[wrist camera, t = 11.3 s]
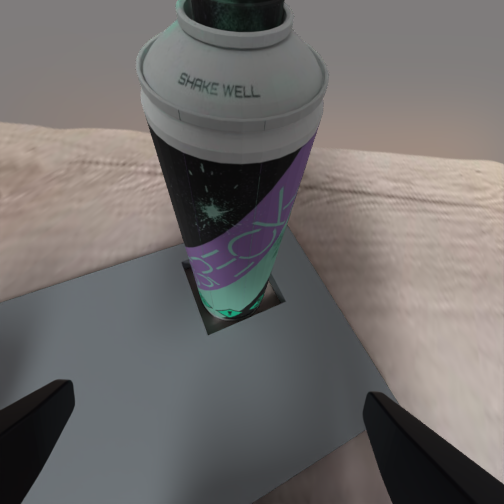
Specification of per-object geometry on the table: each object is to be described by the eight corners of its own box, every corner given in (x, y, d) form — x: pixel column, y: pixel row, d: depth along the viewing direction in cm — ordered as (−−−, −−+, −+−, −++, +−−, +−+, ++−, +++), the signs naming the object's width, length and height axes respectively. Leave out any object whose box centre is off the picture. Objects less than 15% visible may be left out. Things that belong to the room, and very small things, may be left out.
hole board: (389, 406, 19) (400, 407, 18) (-41, 680, 12) (-74, 714, 11) (276, 221, 27) (279, 211, 25) (-25, 322, 20) (-43, 316, 18)
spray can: (190, 276, 23) (62, -113, 5) (246, 253, 24) (285, -108, 7) (215, 333, 21) (129, -17, 3) (274, 304, 22) (438, -40, 5)
